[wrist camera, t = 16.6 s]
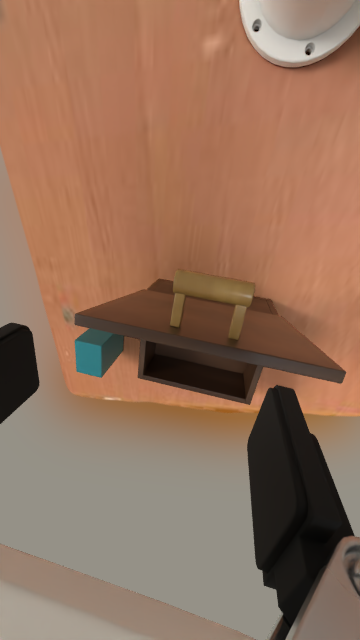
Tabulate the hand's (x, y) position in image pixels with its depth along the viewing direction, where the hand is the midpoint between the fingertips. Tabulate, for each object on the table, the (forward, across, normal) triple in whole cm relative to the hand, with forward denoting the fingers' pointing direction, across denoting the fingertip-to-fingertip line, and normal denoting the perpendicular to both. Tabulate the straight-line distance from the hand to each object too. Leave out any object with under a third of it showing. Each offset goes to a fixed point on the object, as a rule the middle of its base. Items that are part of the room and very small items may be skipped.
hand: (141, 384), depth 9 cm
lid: (+12, -2, +3) cm, 13 cm away
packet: (+27, +13, +15) cm, 34 cm away
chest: (+27, -2, +11) cm, 29 cm away
